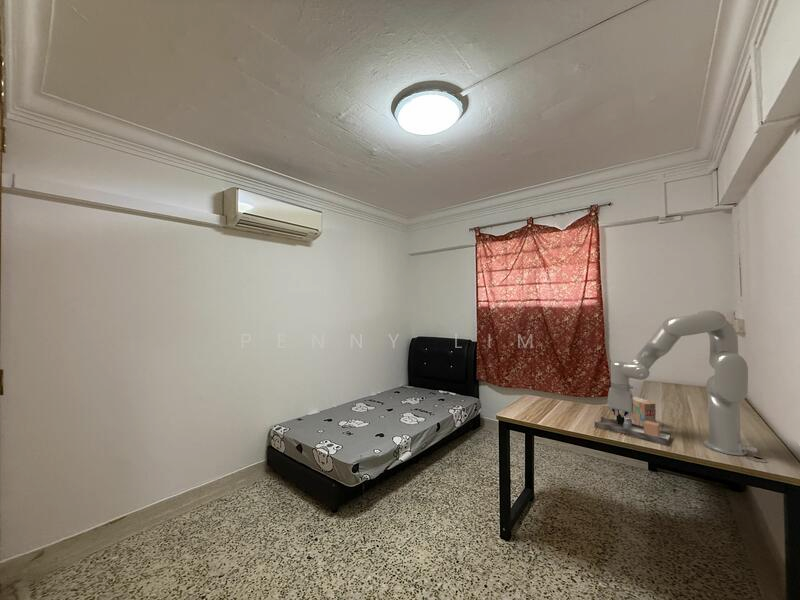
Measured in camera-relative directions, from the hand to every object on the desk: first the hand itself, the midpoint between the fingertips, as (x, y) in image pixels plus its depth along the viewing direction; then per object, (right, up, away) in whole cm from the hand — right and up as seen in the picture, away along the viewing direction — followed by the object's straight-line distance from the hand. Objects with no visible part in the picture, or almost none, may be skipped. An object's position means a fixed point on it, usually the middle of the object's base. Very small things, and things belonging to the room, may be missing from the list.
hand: (620, 423), depth 153 cm
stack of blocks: (+17, -4, +15) cm, 23 cm away
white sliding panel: (+7, -2, -8) cm, 10 cm away
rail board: (+3, -3, -3) cm, 5 cm away
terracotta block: (+8, -1, -9) cm, 12 cm away
